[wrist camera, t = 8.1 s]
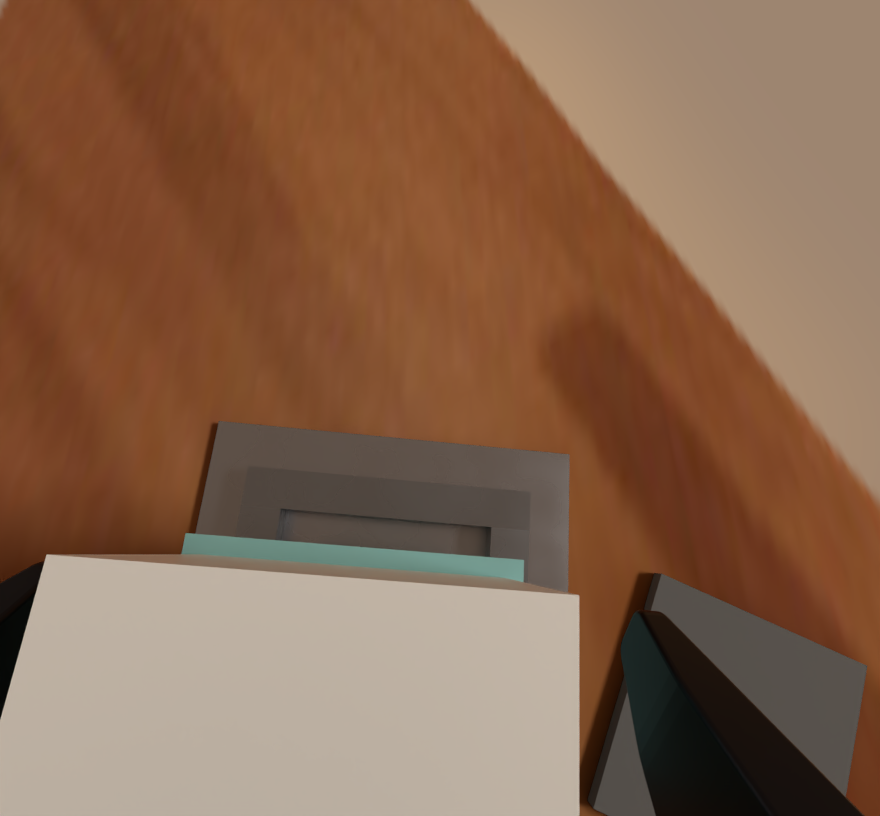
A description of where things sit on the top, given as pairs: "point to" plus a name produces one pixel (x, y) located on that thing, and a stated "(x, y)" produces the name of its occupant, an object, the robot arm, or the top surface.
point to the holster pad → (758, 677)
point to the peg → (292, 686)
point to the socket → (390, 495)
